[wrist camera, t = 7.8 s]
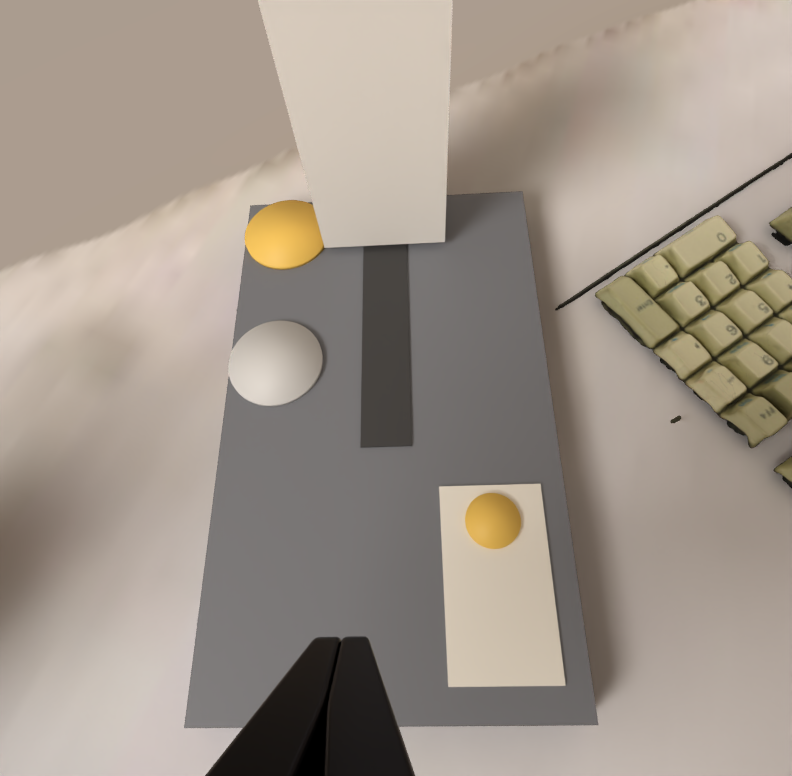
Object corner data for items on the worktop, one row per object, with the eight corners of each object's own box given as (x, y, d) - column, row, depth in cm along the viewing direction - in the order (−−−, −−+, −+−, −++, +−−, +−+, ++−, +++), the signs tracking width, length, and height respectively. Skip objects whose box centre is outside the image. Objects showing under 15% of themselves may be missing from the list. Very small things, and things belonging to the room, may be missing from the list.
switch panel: (585, 718, 17) (600, 726, 16) (202, 721, 18) (180, 729, 16) (516, 207, 26) (521, 178, 24) (260, 220, 26) (250, 193, 25)
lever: (455, 249, 23) (476, -113, 12) (314, 256, 23) (210, -91, 12) (450, 179, 24) (464, -195, 14) (318, 186, 25) (229, -175, 14)
